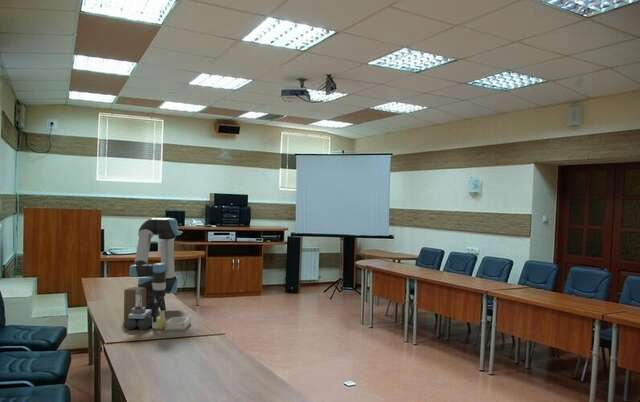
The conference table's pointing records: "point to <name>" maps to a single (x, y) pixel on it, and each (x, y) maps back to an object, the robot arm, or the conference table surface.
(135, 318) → the grey plate on cylinders
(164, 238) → the robot arm
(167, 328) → the tray
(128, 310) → the block
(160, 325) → the yellow cube
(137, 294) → the pin
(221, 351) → the conference table surface
